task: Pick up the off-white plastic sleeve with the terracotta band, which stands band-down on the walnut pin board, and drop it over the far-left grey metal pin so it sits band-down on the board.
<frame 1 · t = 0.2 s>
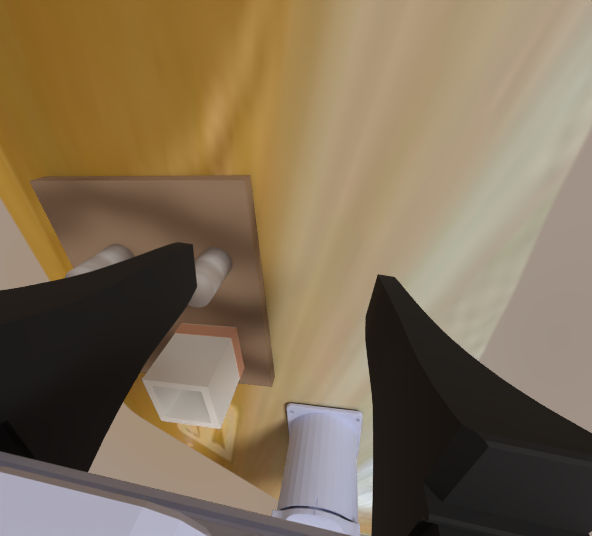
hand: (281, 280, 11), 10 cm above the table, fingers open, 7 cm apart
sleeve: (214, 345, 27), point 1 cm above the table, touching pin board
pin board: (176, 291, 26), on the table
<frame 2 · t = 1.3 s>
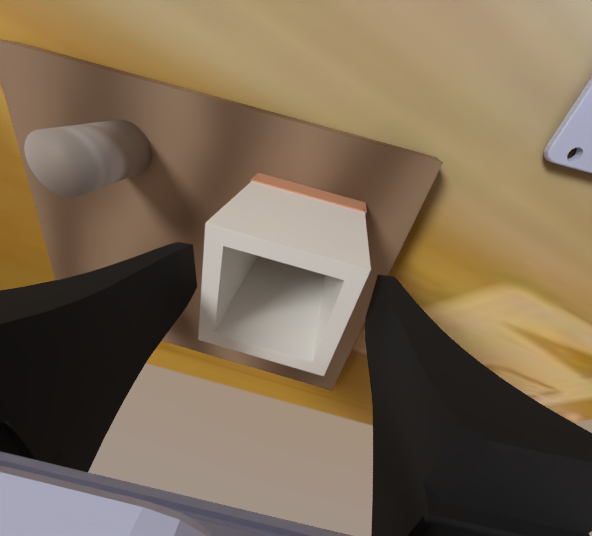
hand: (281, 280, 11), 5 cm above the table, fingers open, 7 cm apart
sleeve: (299, 235, 15), point 1 cm above the table, touching pin board
pin board: (211, 248, 18), on the table
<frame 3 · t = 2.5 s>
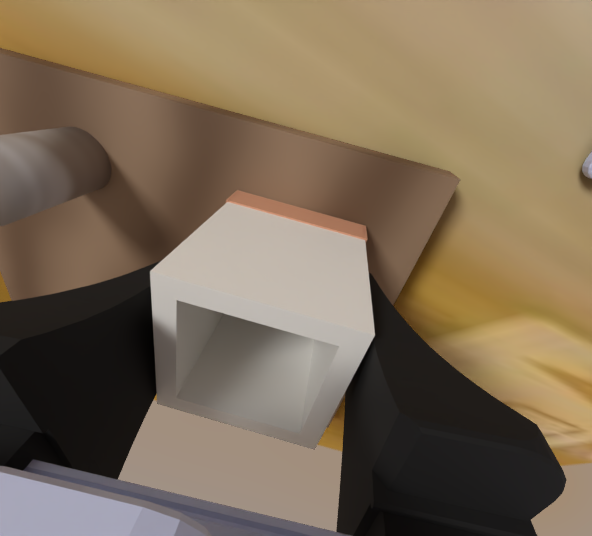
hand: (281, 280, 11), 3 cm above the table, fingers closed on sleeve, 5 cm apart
sleeve: (288, 261, 13), point 1 cm above the table, touching gripper, pin board
pin board: (188, 272, 15), on the table
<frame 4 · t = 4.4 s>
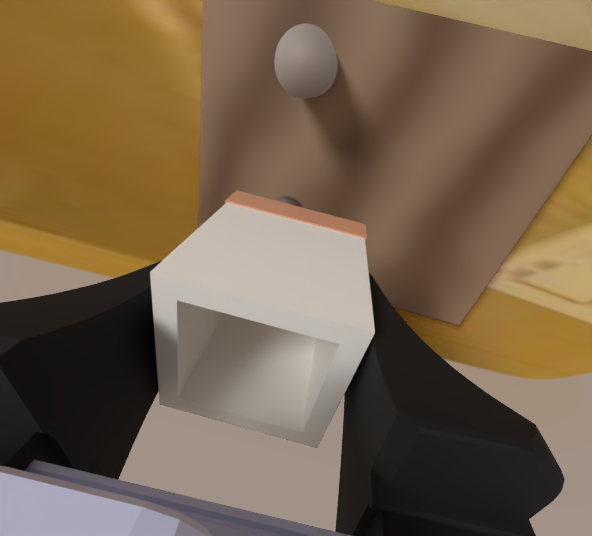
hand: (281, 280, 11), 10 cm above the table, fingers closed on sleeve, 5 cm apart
sleeve: (288, 261, 13), point 8 cm above the table, touching gripper
pin board: (360, 179, 18), on the table
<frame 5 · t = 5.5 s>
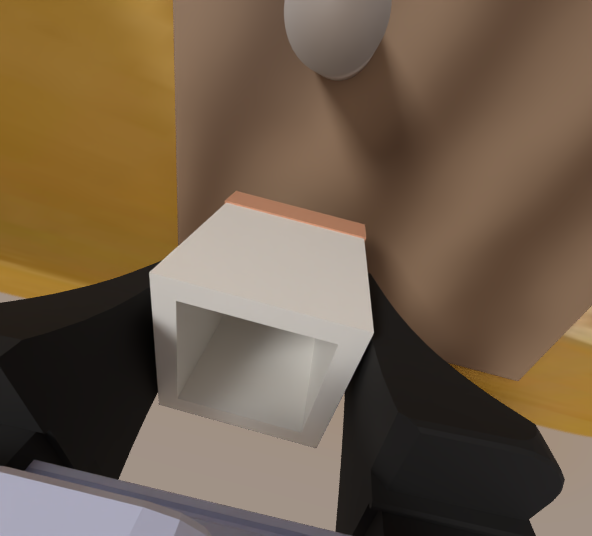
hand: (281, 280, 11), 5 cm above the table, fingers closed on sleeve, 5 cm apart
sleeve: (287, 261, 13), point 3 cm above the table, touching gripper
pin board: (395, 196, 14), on the table
when the fingers open (4 cm above the table, at t = 6.5 s): sleeve drops 2 cm, resting on pin board.
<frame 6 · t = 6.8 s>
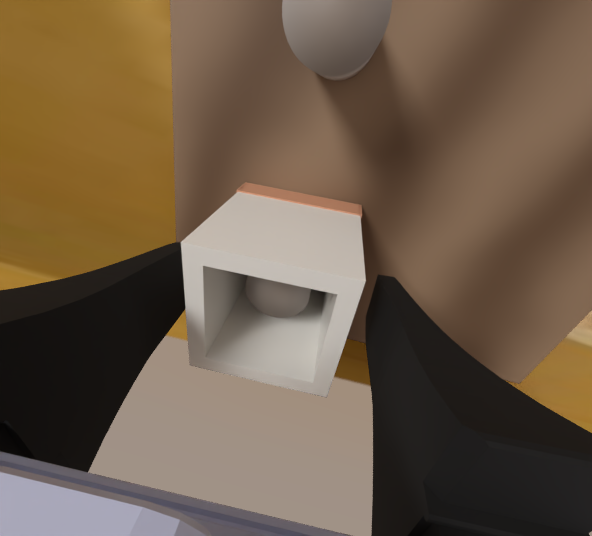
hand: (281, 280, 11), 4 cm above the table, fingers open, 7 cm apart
sleeve: (294, 244, 14), point 1 cm above the table, touching pin board
pin board: (395, 197, 13), on the table
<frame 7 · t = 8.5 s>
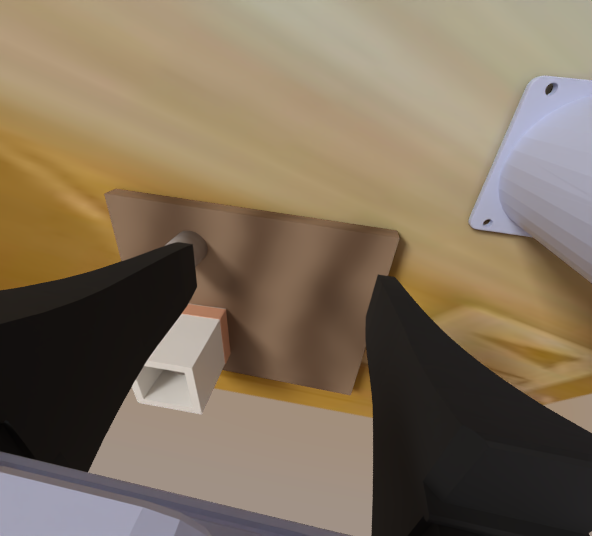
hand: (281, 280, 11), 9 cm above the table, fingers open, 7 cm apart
sleeve: (200, 327, 25), point 1 cm above the table, touching pin board
pin board: (249, 299, 24), on the table
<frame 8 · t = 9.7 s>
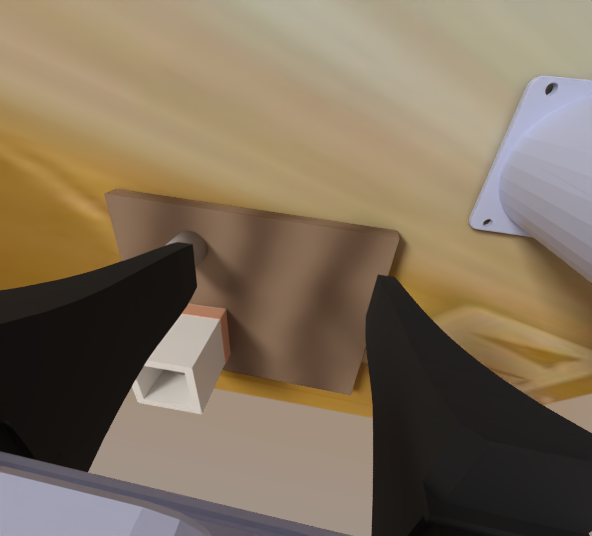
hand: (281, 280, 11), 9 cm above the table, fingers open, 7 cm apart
sleeve: (200, 327, 25), point 1 cm above the table, touching pin board
pin board: (249, 299, 24), on the table
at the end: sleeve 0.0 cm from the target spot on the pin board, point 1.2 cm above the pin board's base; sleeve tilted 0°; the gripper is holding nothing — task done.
